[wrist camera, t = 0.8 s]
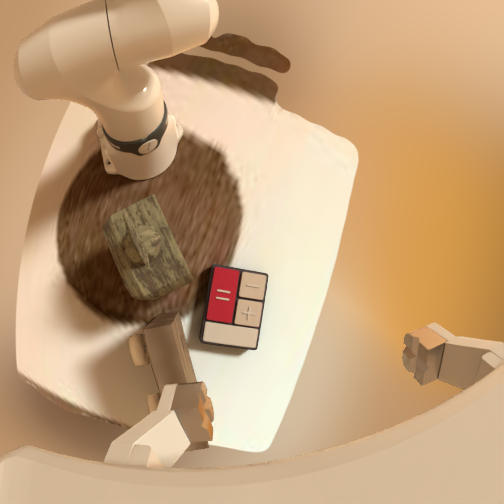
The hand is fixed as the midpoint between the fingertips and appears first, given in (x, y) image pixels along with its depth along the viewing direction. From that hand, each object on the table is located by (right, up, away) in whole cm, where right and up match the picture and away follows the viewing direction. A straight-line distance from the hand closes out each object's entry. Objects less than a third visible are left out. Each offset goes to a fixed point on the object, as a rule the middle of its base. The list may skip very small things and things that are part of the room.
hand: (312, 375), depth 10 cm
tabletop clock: (-21, +4, +43) cm, 48 cm away
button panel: (-17, -17, +41) cm, 48 cm away
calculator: (-6, -6, +45) cm, 46 cm away
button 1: (-19, -11, +35) cm, 41 cm away
